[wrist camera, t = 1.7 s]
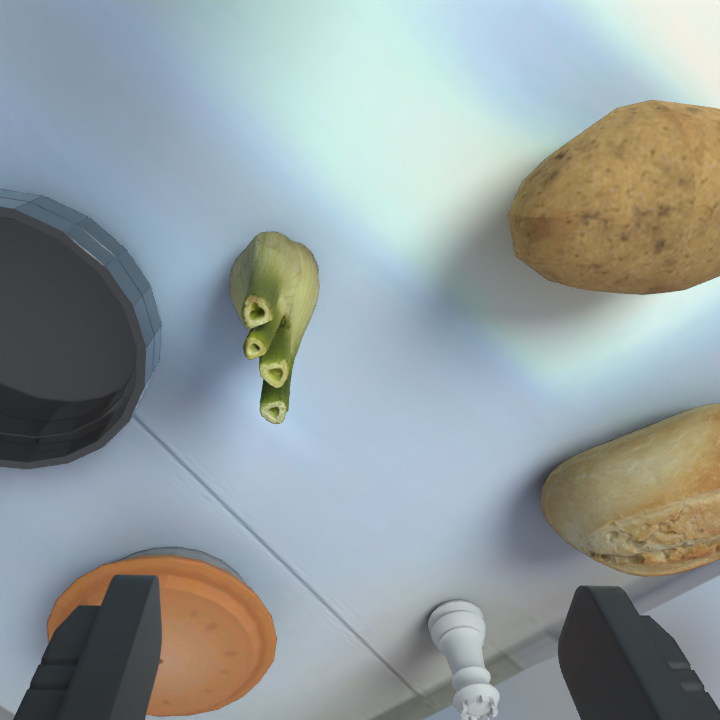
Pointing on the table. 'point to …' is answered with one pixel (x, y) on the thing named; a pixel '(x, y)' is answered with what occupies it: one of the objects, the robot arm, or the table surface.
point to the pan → (68, 333)
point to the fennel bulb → (274, 310)
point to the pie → (191, 627)
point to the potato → (627, 203)
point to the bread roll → (644, 497)
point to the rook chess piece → (465, 657)
